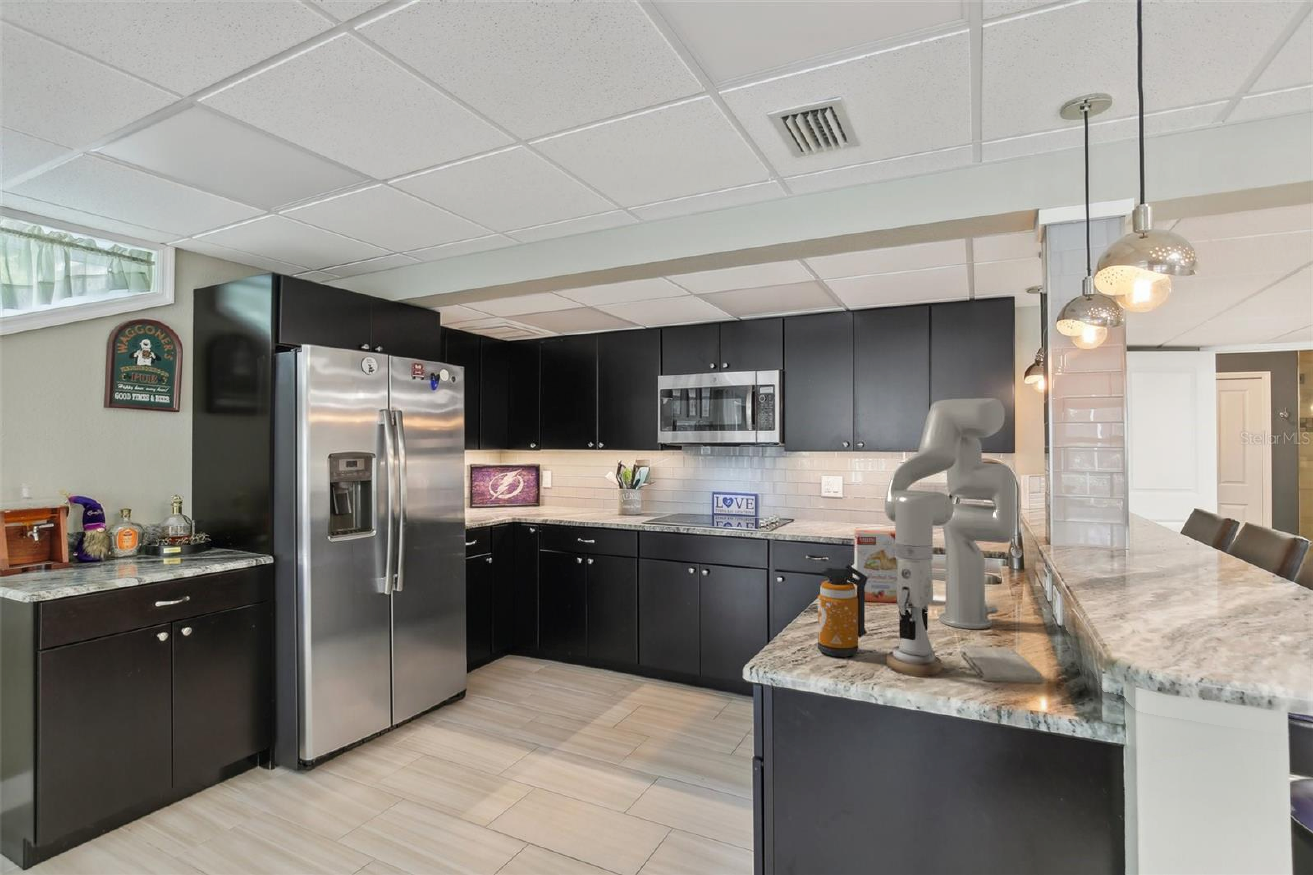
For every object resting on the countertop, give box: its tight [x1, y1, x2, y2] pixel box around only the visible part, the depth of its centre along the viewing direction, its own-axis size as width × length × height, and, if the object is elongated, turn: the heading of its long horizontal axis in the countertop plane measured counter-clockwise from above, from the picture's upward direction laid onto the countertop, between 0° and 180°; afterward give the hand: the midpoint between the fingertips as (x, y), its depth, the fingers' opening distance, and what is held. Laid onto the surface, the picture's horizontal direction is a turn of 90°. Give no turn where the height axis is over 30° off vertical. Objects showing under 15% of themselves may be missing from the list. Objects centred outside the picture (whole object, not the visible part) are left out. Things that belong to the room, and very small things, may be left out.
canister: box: [817, 564, 868, 658], centre depth 155 cm, size 9×11×20 cm
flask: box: [898, 603, 934, 656], centre depth 145 cm, size 7×7×10 cm
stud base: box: [886, 645, 942, 678], centre depth 145 cm, size 11×11×4 cm
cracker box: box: [853, 529, 899, 604], centre depth 203 cm, size 14×6×21 cm, turn 81°
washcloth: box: [959, 645, 1044, 684], centre depth 145 cm, size 12×18×3 cm, turn 173°
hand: (913, 633), depth 145 cm, fingers open, 7 cm apart
